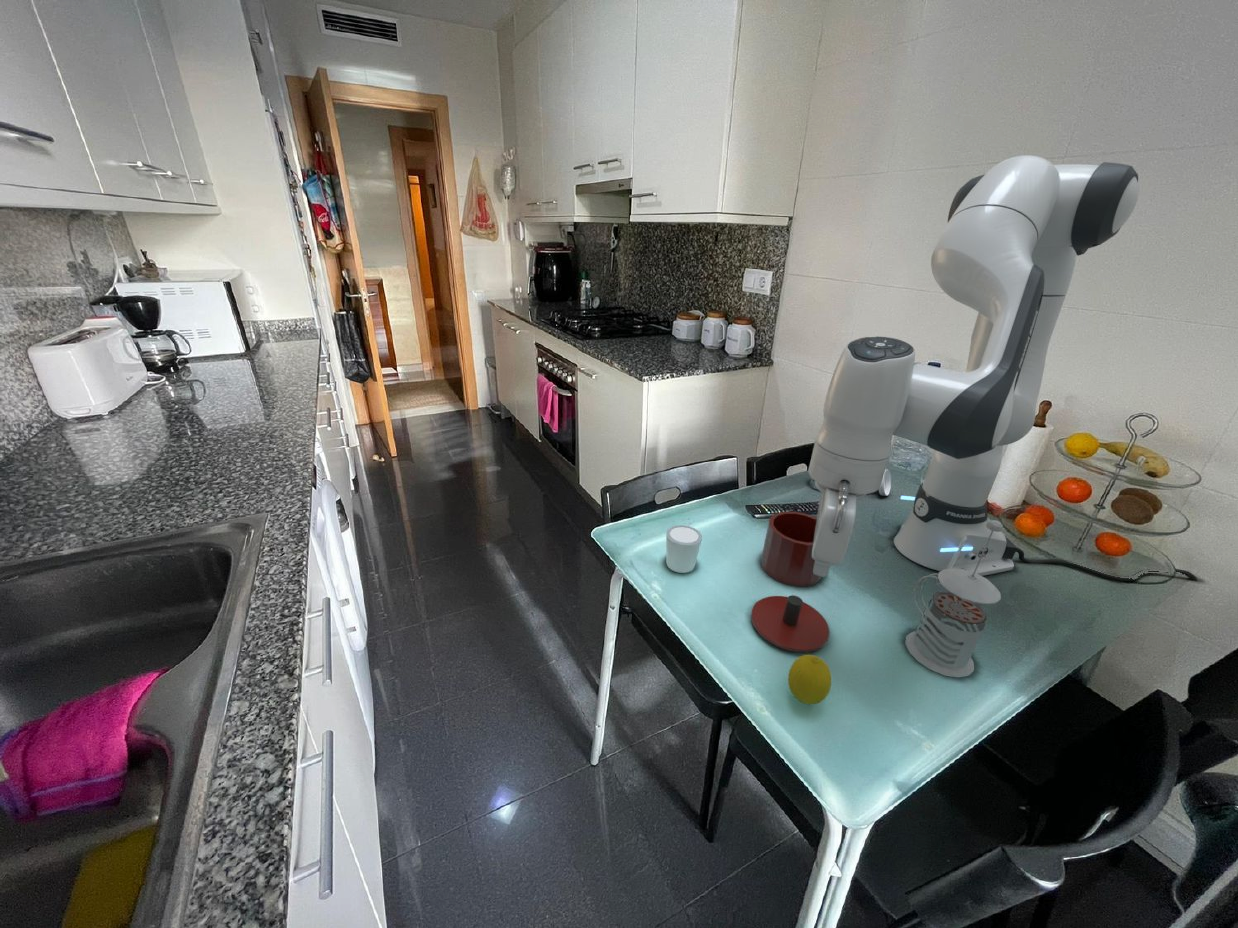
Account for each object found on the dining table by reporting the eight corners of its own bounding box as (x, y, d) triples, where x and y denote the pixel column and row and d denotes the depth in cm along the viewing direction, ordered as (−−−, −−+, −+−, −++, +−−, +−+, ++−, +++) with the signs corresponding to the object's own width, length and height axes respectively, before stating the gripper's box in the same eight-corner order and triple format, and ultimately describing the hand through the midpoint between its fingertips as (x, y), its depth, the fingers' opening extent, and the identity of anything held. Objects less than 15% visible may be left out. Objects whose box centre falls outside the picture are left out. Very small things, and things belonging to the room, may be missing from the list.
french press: (947, 685, 75) (1011, 547, 64) (882, 632, 84) (929, 504, 74) (988, 666, 79) (1056, 533, 68) (922, 617, 88) (972, 493, 77)
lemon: (826, 720, 68) (841, 678, 65) (785, 712, 69) (796, 670, 66) (820, 687, 73) (833, 647, 70) (781, 680, 74) (792, 640, 71)
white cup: (657, 557, 100) (660, 528, 97) (686, 550, 103) (690, 522, 100) (673, 578, 95) (677, 547, 92) (704, 570, 97) (709, 540, 94)
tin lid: (791, 594, 92) (798, 569, 90) (844, 642, 82) (853, 615, 79) (735, 611, 87) (740, 585, 85) (784, 664, 77) (791, 636, 74)
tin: (805, 549, 105) (815, 511, 101) (832, 585, 95) (844, 544, 91) (752, 550, 104) (760, 511, 100) (773, 587, 94) (783, 545, 89)
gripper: (874, 509, 55) (843, 606, 61) (871, 444, 72) (847, 525, 78) (814, 495, 57) (790, 590, 63) (825, 436, 74) (804, 515, 80)
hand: (821, 554), depth 71 cm, fingers open, 8 cm apart
